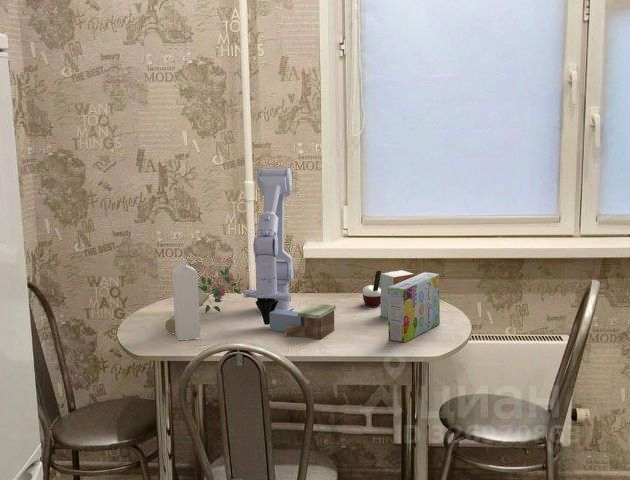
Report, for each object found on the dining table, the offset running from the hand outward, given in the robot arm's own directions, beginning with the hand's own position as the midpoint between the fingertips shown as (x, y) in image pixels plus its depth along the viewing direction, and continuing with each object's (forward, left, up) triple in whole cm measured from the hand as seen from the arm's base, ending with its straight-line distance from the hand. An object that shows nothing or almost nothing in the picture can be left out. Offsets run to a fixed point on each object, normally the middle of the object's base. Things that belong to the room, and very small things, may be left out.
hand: (267, 323), depth 227 cm
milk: (-16, -17, -1) cm, 23 cm away
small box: (+30, +26, -1) cm, 40 cm away
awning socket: (+14, 0, -1) cm, 14 cm away
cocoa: (+19, +34, -1) cm, 39 cm away
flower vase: (-23, 0, -1) cm, 23 cm away
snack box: (+40, +12, -1) cm, 42 cm away
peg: (+7, 0, -1) cm, 7 cm away
